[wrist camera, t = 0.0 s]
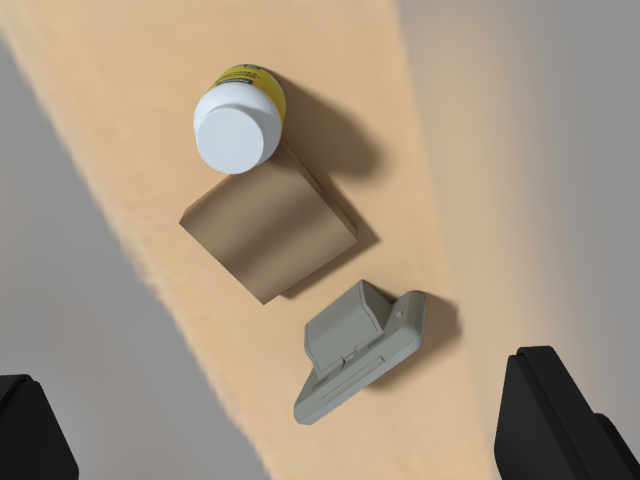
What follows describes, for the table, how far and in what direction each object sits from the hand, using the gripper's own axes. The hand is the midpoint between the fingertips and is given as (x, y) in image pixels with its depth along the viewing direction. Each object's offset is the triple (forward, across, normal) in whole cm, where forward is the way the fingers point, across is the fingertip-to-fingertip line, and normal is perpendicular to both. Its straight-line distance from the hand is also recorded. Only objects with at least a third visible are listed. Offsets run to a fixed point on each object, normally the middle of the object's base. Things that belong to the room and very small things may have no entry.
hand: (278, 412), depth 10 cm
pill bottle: (+38, +5, +2) cm, 38 cm away
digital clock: (+38, -4, +28) cm, 47 cm away
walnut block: (+37, +4, +14) cm, 40 cm away
